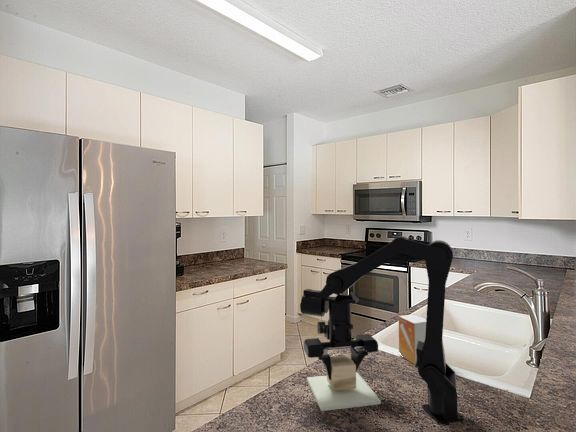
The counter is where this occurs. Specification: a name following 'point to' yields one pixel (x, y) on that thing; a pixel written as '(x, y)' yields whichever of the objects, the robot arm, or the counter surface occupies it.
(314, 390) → the sage mat
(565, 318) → the counter surface
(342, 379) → the maple cube
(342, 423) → the counter surface
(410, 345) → the small box
